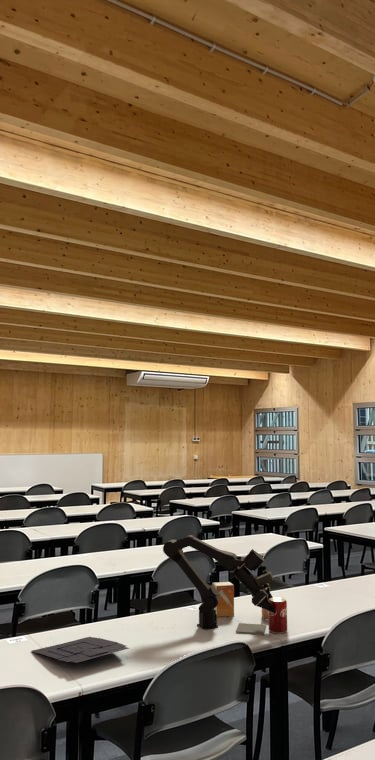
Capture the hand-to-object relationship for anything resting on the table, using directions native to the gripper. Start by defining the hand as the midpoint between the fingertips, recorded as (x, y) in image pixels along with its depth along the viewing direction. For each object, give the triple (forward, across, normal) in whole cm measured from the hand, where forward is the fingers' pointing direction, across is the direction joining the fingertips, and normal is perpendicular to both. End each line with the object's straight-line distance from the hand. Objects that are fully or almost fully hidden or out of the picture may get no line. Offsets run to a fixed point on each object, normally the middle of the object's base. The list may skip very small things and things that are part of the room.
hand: (276, 609), depth 220 cm
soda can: (+6, 0, +6) cm, 9 cm away
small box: (-11, +18, +23) cm, 31 cm away
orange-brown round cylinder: (+3, +17, +9) cm, 20 cm away
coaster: (-1, 0, +13) cm, 13 cm away
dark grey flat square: (-40, -40, +52) cm, 77 cm away
